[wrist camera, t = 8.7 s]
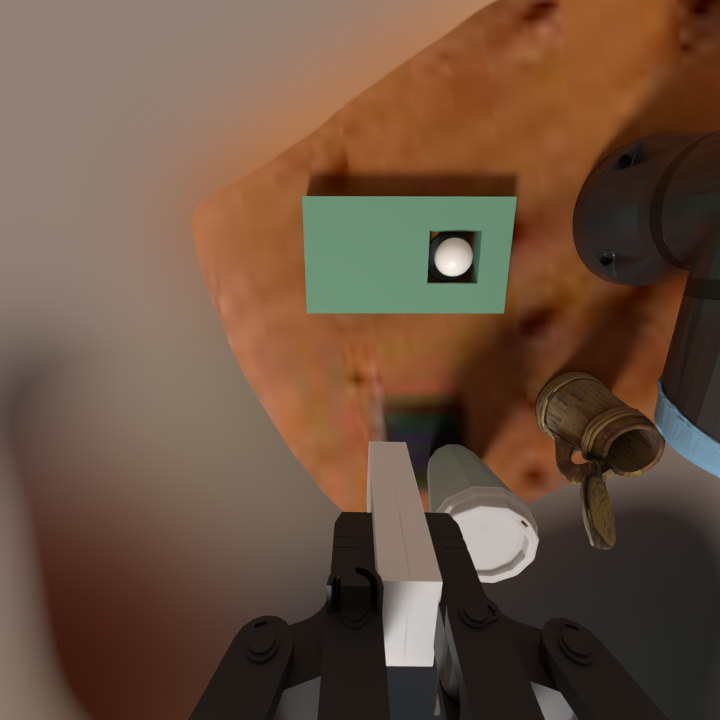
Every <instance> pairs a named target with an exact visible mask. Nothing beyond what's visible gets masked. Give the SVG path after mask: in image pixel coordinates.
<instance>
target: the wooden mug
mask: <svg viewBox="0 0 720 720" xmlns="http://www.w3.org/2000/svg"><path fill="white" fill-rule="evenodd" d="M535 415H536V419H537V422H538V425H539V427H540V429H541V430H542V431H543V432H544V433H546V434H547V435H549V436H550V437H551V438H553V439H554V440H555V447H556V461H557V467H558V469H559V471H560V473H561V474H562V476H564V477H565V478H566V479H567V480H568V481H570V482H572V483H574V484H576V485H578V486H580V487H581V490H580V491H581V492H580V496H581V509H582V515H583V520H584V524H585V528H586V531H587V533H588V536H589V540H590V543H591V545H593V546H595V547H596V548H600V549H604V550H607V549H610V548H612V546H613V545H614V543H615V539H616V529H615V519H614V513H613V509H612V504H611V501H610V498H609V496H608V492H607V490H606V486H605V481H606V480H607V479H609V478H610V477H611V476H613V475H614V474H618V475H620V476H625V477H631V476H637V475H639V474H642V473H644V472H646V471H648V470H649V469H651V468H652V467H653V466H654V465H656V464H657V463H658V462H659V460H660V459H661V457H662V454H663V451H664V448H665V439H664V437H663V436H662V435H661V433H660V432H659V430H658V429H657V428H655V425H654V424H653V423H652V422H651V420H649V419H648V418H647V417H646V416H645V415H644V414H643V413H641V412H640V411H639V410H637V409H634V408H631V407H629V406H627V405H626V404H625V403H623V402H622V401H621V400H620V399H618V398H617V397H616V396H615V395H613V394H612V393H611V392H610V391H609V390H608V389H607V387H606V386H605V385H604V384H603V383H601V382H600V381H599V380H598V379H596V378H595V377H594V376H592V375H590V374H588V373H585V372H577V371H575V372H567V373H564V374H562V375H560V376H557V377H556V378H555V379H553V380H552V381H550V382H549V383H548V384H547V385H546V386H545V388H544V389H543V390H542V392H541V393H540V394H539V396H538V399H537V402H536V405H535ZM578 451H580V452H582V457H583V458H584V459H585V460H586V461H587V462H586V463H584V464H574V463H573V462H572V460H571V458H572V456H573V455H574V454H575V453H576V452H578Z"/></svg>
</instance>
